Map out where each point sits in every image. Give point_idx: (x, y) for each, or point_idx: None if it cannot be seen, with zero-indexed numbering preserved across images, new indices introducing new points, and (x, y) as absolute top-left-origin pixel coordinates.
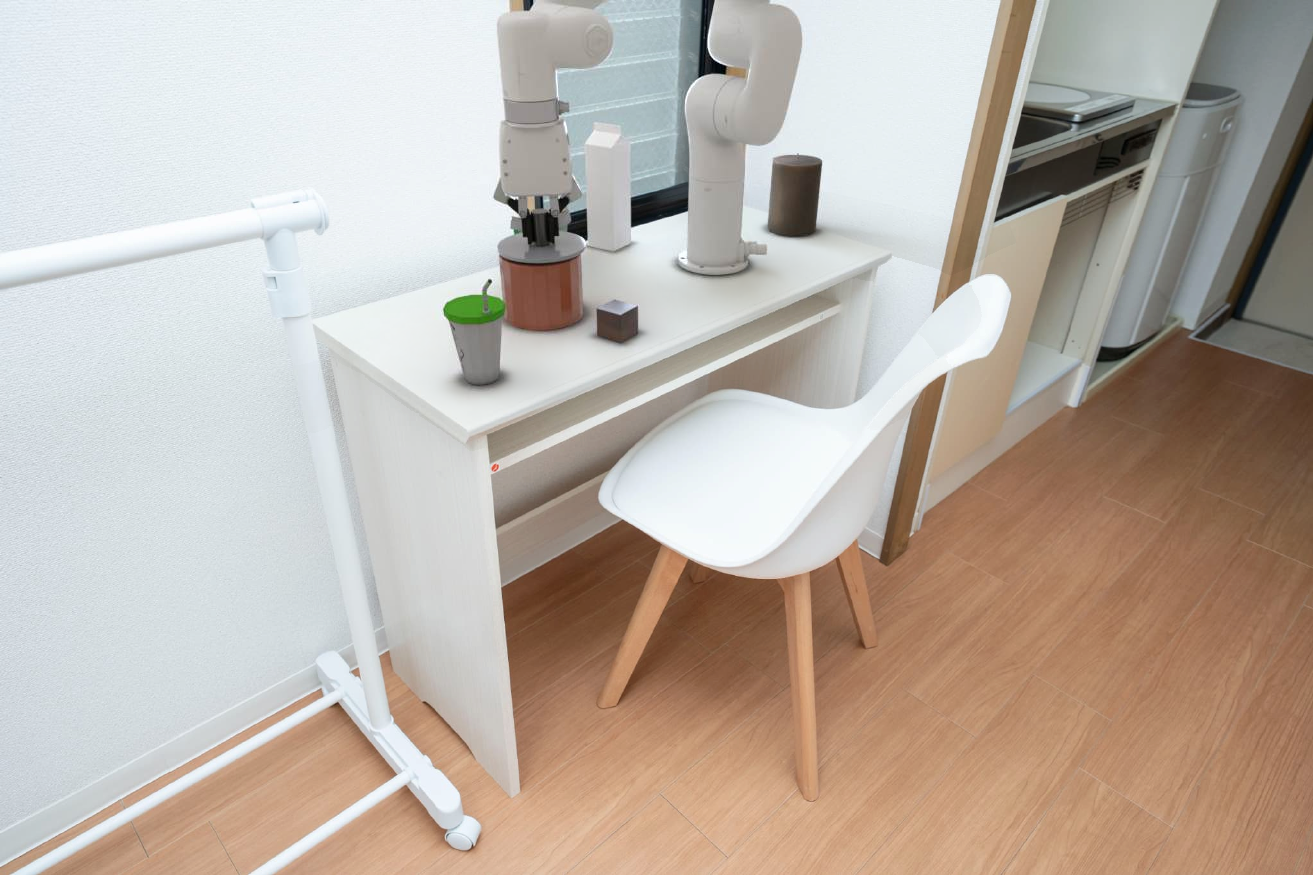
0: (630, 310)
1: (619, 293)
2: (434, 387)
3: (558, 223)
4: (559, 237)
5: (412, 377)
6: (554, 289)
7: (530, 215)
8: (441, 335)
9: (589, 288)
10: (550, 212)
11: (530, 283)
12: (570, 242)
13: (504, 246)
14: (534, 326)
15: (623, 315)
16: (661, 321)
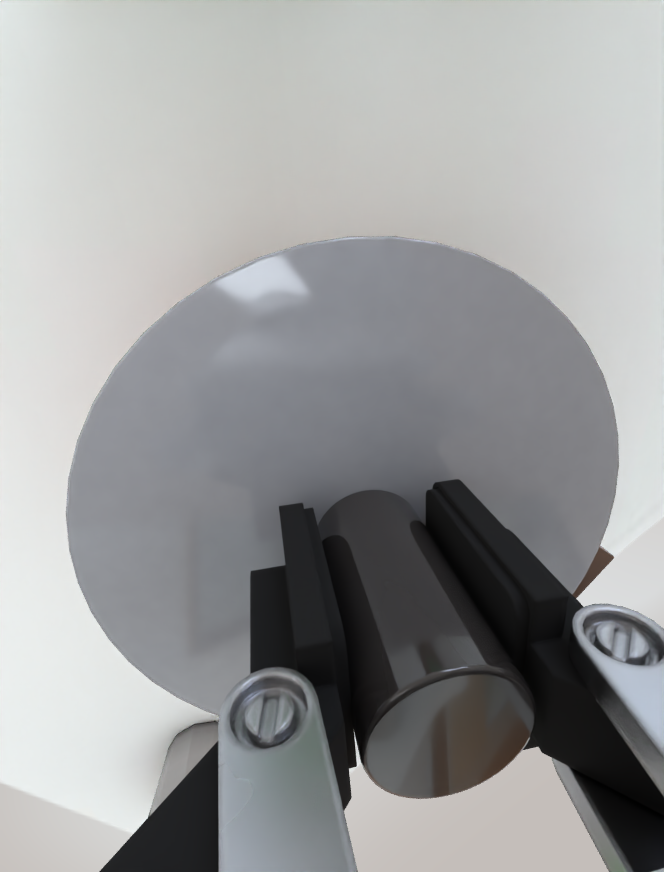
0: (586, 584)
1: (560, 197)
2: (114, 794)
3: (542, 565)
4: (476, 412)
5: (41, 773)
6: None
7: (345, 698)
8: (4, 579)
9: (456, 132)
10: (552, 748)
11: None
12: (534, 499)
13: (133, 593)
14: None
15: None
16: (630, 435)
